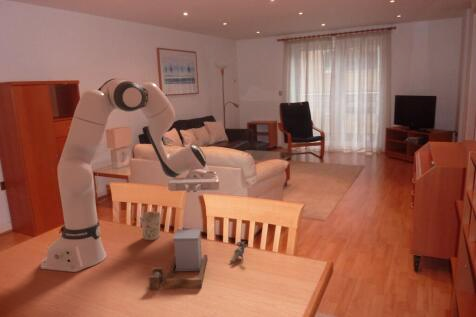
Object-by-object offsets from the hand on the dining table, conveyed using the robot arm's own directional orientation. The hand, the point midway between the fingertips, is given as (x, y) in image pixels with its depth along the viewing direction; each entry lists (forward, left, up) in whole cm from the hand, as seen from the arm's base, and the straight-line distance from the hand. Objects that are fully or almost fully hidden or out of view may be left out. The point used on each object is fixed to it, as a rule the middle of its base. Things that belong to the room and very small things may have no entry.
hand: (191, 190), depth 134 cm
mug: (-20, +9, -24) cm, 33 cm away
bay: (-2, -18, -24) cm, 30 cm away
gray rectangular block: (0, -14, -24) cm, 28 cm away
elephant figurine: (+18, -9, -24) cm, 31 cm away
